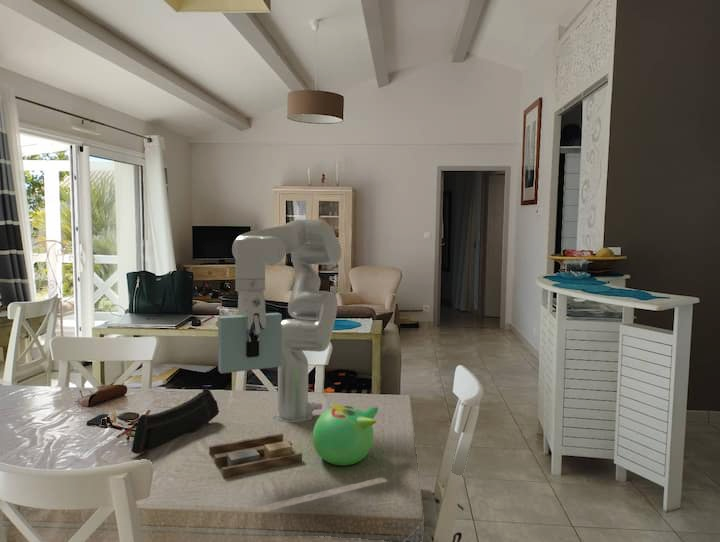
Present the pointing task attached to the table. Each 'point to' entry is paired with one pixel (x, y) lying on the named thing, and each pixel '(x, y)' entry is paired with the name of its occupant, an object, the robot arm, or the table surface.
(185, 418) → the magazine
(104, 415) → the phone
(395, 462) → the table surface
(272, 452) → the offcut
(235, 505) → the table surface
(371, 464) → the table surface
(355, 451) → the toy bird
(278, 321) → the panel
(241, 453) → the offcut
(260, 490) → the table surface
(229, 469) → the rack
